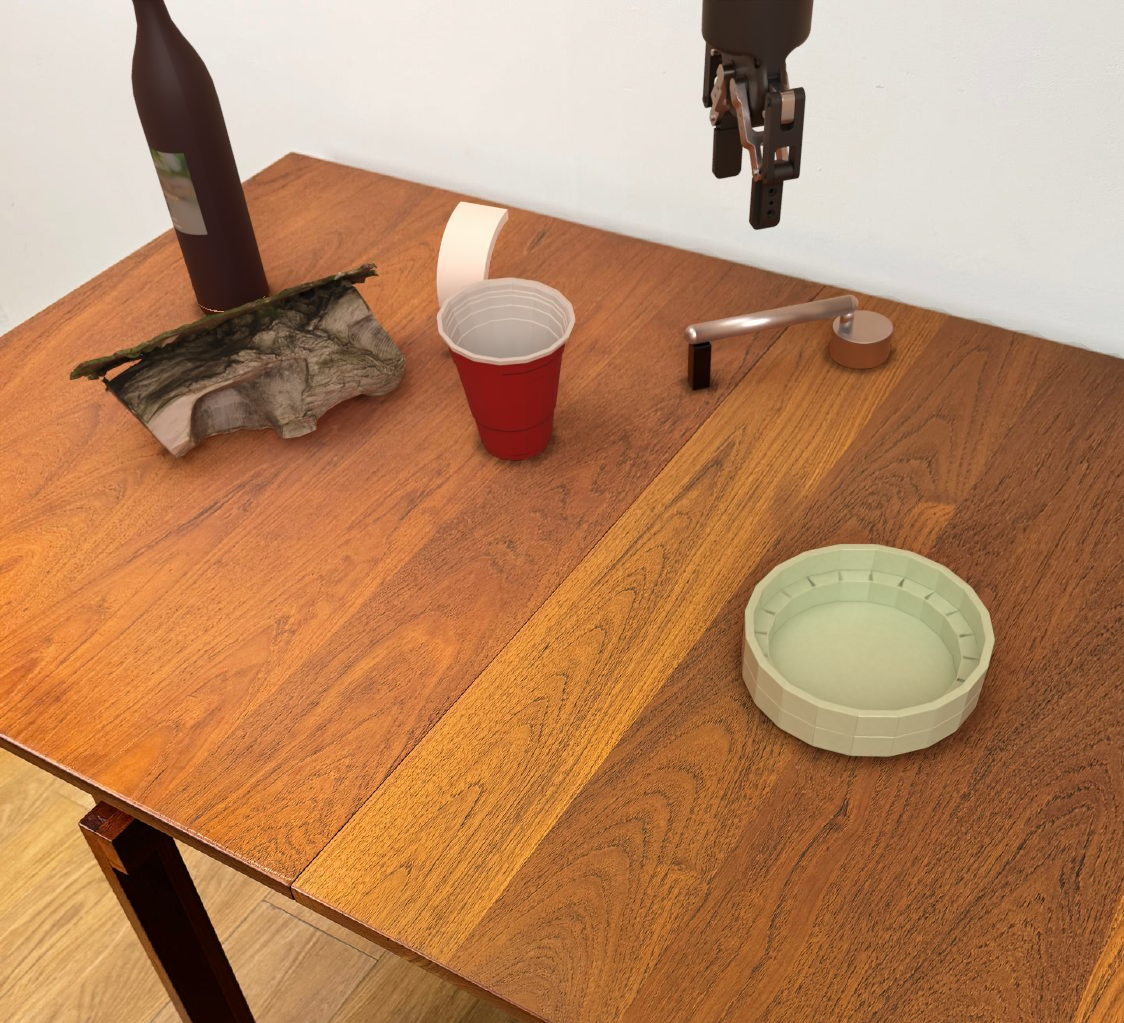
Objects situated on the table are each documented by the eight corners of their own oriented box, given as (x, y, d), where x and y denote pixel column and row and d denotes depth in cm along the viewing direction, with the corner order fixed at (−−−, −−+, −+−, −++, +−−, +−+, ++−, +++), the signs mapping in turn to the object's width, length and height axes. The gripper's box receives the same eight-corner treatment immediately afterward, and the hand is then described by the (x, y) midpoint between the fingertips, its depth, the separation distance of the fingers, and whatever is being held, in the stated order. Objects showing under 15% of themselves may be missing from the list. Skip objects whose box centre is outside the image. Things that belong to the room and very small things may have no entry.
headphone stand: (519, 334, 113) (508, 209, 104) (490, 369, 110) (476, 243, 101) (476, 325, 115) (461, 201, 105) (446, 359, 111) (427, 234, 102)
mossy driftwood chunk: (133, 516, 107) (115, 484, 92) (70, 379, 105) (42, 324, 91) (422, 408, 113) (448, 361, 99) (367, 277, 112) (385, 210, 97)
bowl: (918, 571, 90) (929, 524, 87) (1022, 730, 80) (1038, 684, 76) (710, 616, 88) (713, 570, 85) (789, 785, 78) (796, 741, 75)
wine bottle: (202, 287, 122) (97, -53, 99) (272, 279, 122) (183, -62, 99) (196, 325, 118) (85, -22, 94) (269, 317, 118) (175, -32, 95)
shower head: (692, 403, 105) (694, 344, 100) (674, 370, 108) (675, 311, 104) (898, 362, 107) (908, 302, 102) (874, 331, 110) (883, 272, 106)
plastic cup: (510, 499, 98) (495, 370, 89) (429, 442, 104) (407, 314, 94) (608, 440, 102) (604, 311, 93) (526, 388, 108) (514, 261, 98)
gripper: (855, -10, 76) (825, 236, 89) (775, -81, 85) (758, 152, 98) (743, 8, 76) (728, 254, 88) (674, -66, 84) (670, 167, 97)
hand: (744, 200), depth 93 cm, fingers open, 8 cm apart
